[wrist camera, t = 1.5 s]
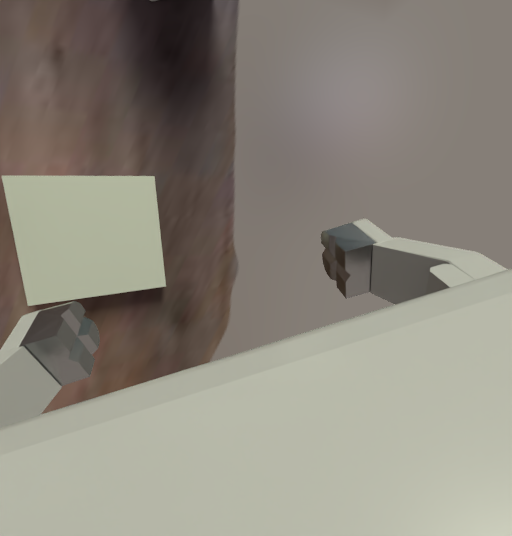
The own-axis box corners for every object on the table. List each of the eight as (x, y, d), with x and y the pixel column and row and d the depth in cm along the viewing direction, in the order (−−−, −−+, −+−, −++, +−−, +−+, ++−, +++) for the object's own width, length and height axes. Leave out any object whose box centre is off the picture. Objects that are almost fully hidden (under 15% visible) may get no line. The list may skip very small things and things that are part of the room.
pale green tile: (34, 299, 36) (27, 306, 34) (10, 178, 33) (1, 175, 31) (162, 281, 42) (165, 286, 40) (151, 178, 40) (154, 176, 37)
